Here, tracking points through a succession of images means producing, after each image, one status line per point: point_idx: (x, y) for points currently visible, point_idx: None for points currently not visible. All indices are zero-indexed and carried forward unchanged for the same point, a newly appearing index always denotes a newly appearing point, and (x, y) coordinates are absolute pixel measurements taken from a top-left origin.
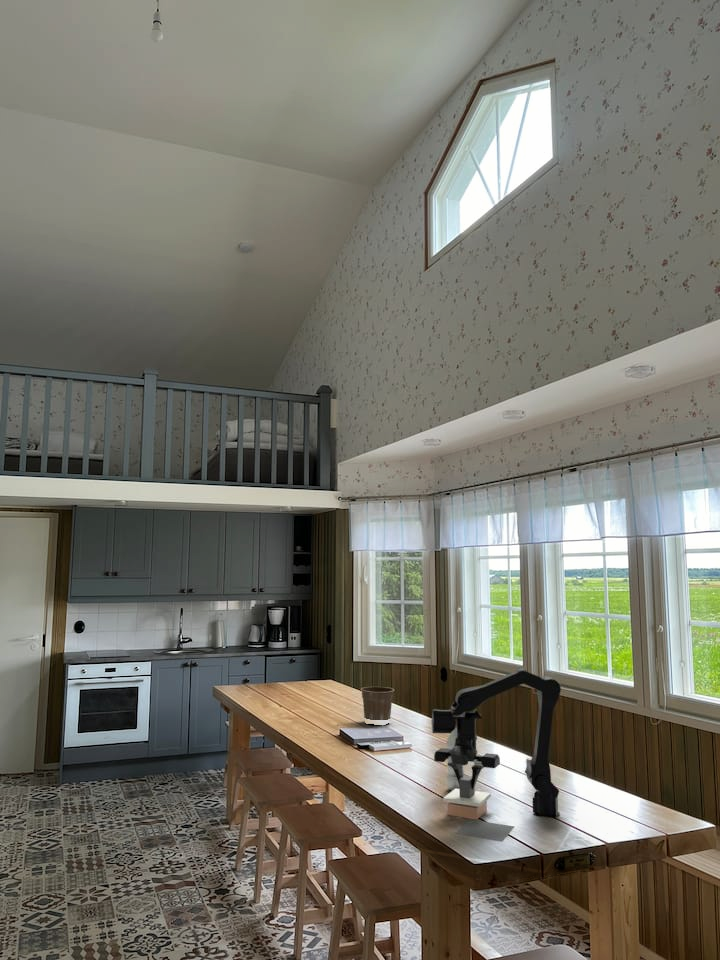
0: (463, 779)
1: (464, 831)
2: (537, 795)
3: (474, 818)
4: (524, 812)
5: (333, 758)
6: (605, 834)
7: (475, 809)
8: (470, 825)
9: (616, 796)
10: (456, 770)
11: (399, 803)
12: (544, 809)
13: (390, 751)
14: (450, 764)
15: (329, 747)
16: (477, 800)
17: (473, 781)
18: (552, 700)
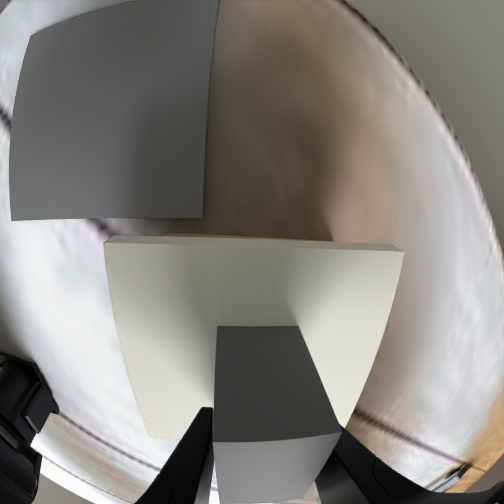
0: (294, 446)
1: (181, 28)
2: (4, 412)
3: (179, 236)
4: (76, 397)
5: (500, 424)
6: None
7: None
8: (170, 118)
9: (40, 469)
10: (397, 499)
11: (483, 304)
12: (2, 373)
13: (428, 485)
14: (497, 500)
15: (489, 444)
16: (144, 303)
17: (186, 453)
18: None
